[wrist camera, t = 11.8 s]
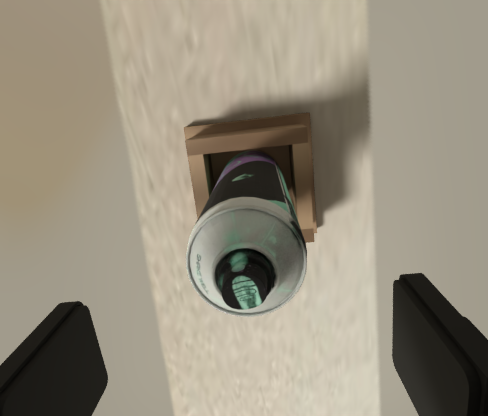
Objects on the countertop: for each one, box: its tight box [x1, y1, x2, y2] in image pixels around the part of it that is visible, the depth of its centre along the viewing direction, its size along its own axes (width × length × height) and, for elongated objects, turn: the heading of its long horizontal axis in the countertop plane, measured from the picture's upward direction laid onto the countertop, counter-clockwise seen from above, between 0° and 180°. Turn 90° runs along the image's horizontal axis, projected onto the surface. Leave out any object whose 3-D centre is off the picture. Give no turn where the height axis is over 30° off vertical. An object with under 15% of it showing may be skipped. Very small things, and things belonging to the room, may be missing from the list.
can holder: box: [184, 113, 317, 243], centre depth 31 cm, size 11×11×5 cm
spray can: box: [186, 150, 307, 317], centre depth 23 cm, size 6×6×20 cm
